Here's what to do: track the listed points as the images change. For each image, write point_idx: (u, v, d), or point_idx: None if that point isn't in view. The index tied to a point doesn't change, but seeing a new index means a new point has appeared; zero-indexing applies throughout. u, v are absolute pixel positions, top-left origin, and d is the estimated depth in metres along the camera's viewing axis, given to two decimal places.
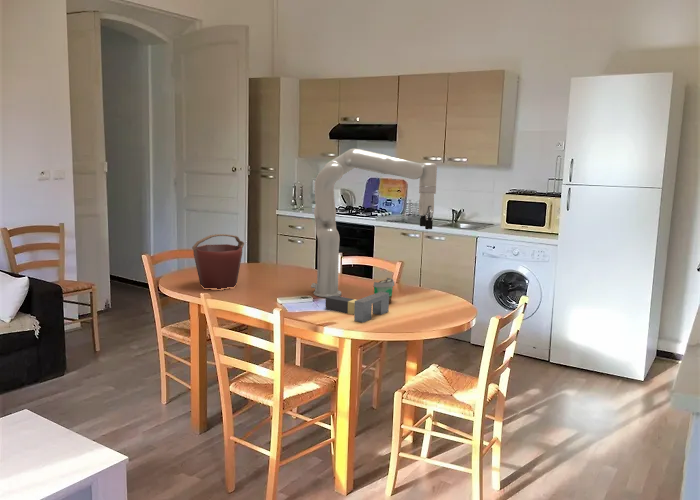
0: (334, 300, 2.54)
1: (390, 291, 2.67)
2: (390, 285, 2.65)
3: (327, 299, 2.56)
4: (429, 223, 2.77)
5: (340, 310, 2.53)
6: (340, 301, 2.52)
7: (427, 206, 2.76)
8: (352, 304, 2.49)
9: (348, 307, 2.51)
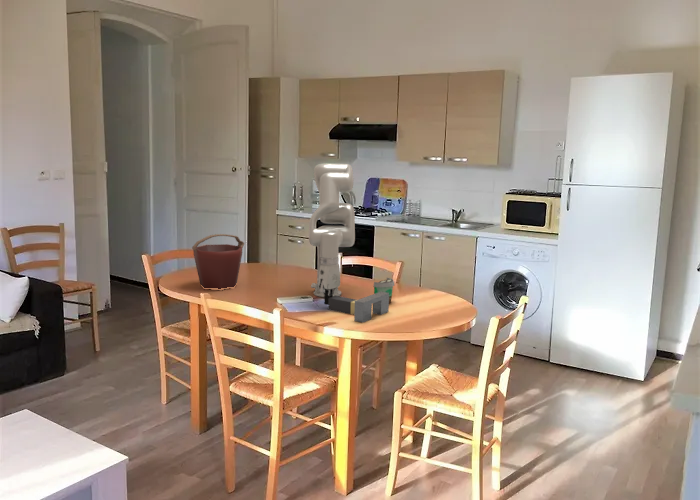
0: (337, 300, 2.53)
1: (390, 291, 2.67)
2: (390, 285, 2.65)
3: (330, 299, 2.55)
4: None
5: (343, 310, 2.52)
6: (343, 301, 2.52)
7: None
8: None
9: (351, 307, 2.50)
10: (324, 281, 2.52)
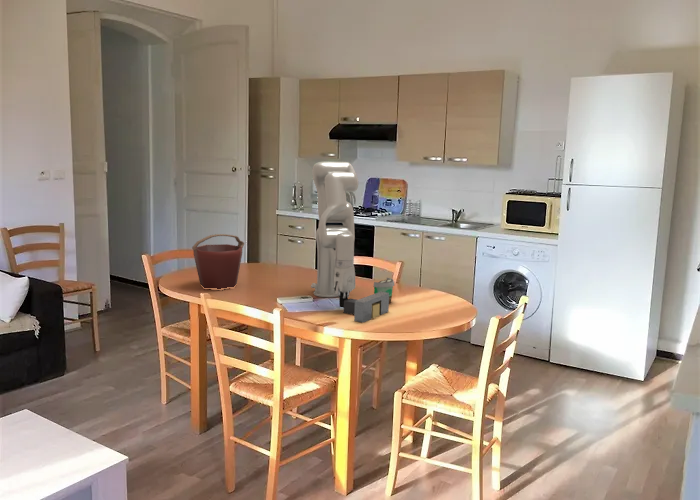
0: (352, 303, 2.49)
1: (390, 291, 2.67)
2: (390, 285, 2.65)
3: (345, 302, 2.51)
4: None
5: None
6: None
7: None
8: None
9: None
10: (339, 284, 2.48)
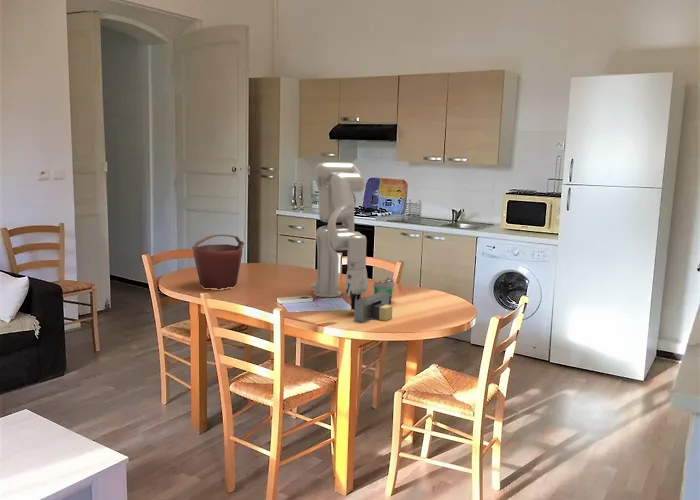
0: None
1: (390, 291, 2.67)
2: (390, 285, 2.65)
3: None
4: None
5: (371, 316, 2.45)
6: None
7: None
8: (384, 310, 2.42)
9: (380, 313, 2.43)
10: (352, 286, 2.45)
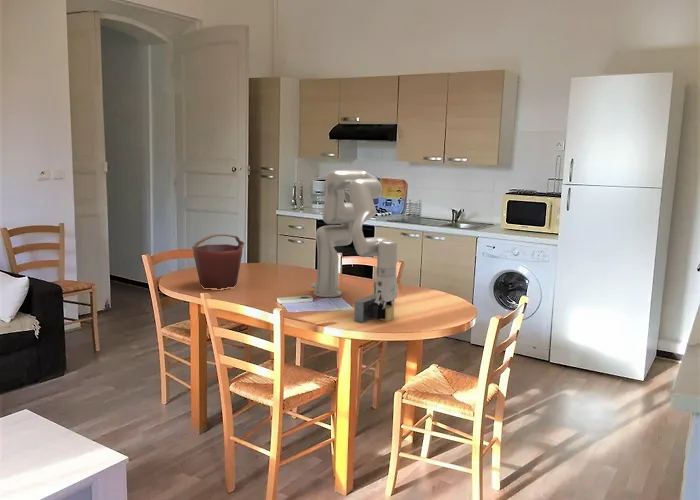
0: None
1: None
2: None
3: None
4: None
5: (373, 316, 2.45)
6: (373, 307, 2.44)
7: None
8: (386, 310, 2.41)
9: None
10: (382, 293, 2.38)
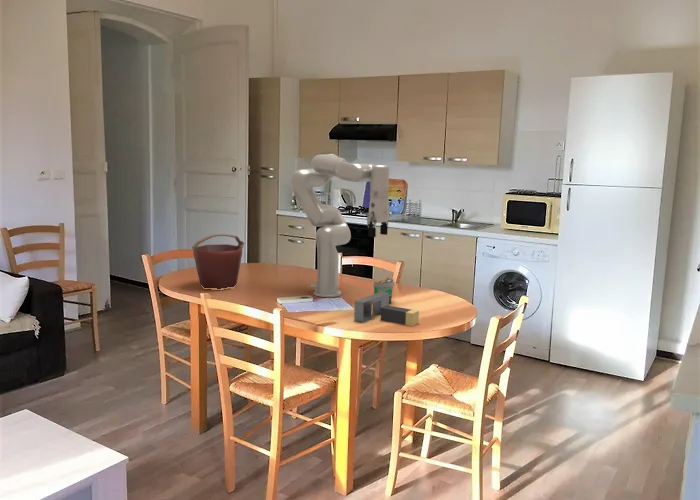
0: (390, 310, 2.40)
1: (390, 291, 2.67)
2: (390, 285, 2.65)
3: (382, 309, 2.42)
4: None
5: (397, 321, 2.39)
6: (397, 312, 2.38)
7: None
8: (411, 315, 2.35)
9: (406, 318, 2.36)
10: (375, 214, 2.53)
